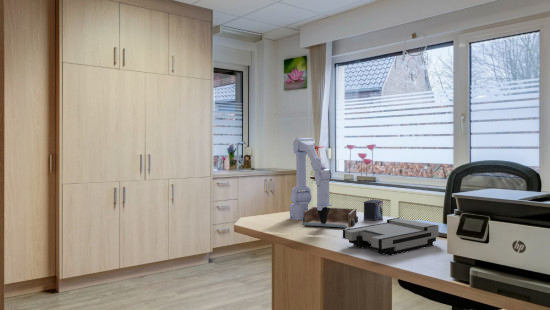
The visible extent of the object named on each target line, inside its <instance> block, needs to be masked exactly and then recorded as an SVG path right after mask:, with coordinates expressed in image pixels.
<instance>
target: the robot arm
mask: <svg viewBox="0 0 550 310" xmlns="http://www.w3.org/2000/svg"><path fill="white" fill-rule="evenodd" d="M292 145H293V148H292V149H293V154H295V156H296V157H295V161H296V163H295V165H296V171H295V172H296V185H295V186H294V187H292V188H291V194H290V201H291V202H292V203H291V204H290V206H289V220H297V221H303V217H304V212H305V211H307V210H308V209H309V205H310V203H311V201H312V192H311V188H310V187H309V186H308V185H307V176H306V175H307V168H306V167H307V162H306V157H307V155H308V157H309V159H310V165H311V167H312V170H313V172H314V179H315V184H316V194H317V195H316V207H317V212H318V214H319V217H320V221H321V223H323V224H325V223H326V221H327V216H328V212H329V210H330V208H331V206H332V205H333V203H330V181H331V180H332V171H331V169H330V168H329V167H327V166H325V163H324V162H323V160H322V159H323V158H321V157H319V156H318V154H317V151H316V148H315V147H316V140H315V139H314V138H313V137H296V138H295V139H294V141H293V144H292Z"/></svg>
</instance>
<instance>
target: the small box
mask: <svg viewBox="0 0 550 310" xmlns="http://www.w3.org/2000/svg"><path fill="white" fill-rule="evenodd" d="M383 202H384V201H383V200H381V199H373V198H372V199H369V200H365V201H364V202H363V220H364V221H369V222H370V221H371V222H377V221H383V220H384V219H383V218H384V217H383V215H384V214H383V212H384V208H383V206H384V203H383Z"/></svg>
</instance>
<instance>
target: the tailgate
mask: <svg viewBox="0 0 550 310" xmlns="http://www.w3.org/2000/svg"><path fill="white" fill-rule="evenodd" d="M302 224H303V226H306V227H324V228H341V229H347V228H348V227H347V226H346V225H341V224H323V223H306V222H304V223H303V222H302Z"/></svg>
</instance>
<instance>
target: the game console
mask: <svg viewBox="0 0 550 310" xmlns="http://www.w3.org/2000/svg"><path fill="white" fill-rule="evenodd" d="M439 228H440V227H439V225H438V224H432V223H426V222H422V221H416V220H411V219H406V218H400V217H395V218H389V219H386V222H383V223H376V224H370V225H364V226H359V227H353V228H351V227H350V228H345V229H342V239H344V240H347V241H348V243H350V244H353V246H355V245H356V246H355V247H358V246H360V247H359V248H362V247H363V248H362V249H366V248H365V247H368V248H371V247H370V246H372V250H374V251H377V253H379V252H381V253H380V254H382V253H384V254H383V255H386V254H388V255H387V256H389V255H390V256H393V255H392V254H395V255H398V254H397V253H399V254H402V252H403V253H407V251H408V252H411V251H416V250H420V249H425V248H428V247H433V246H434V242H436V241H437V238H439V237H440V236H439ZM424 247H425V248H424Z"/></svg>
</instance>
